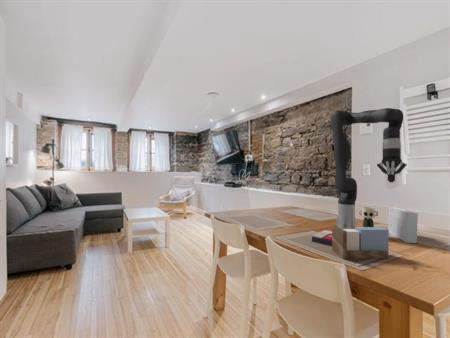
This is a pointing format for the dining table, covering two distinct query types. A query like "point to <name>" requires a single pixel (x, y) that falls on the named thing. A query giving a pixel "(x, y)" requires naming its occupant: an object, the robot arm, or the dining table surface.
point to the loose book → (373, 239)
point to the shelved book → (352, 240)
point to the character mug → (368, 216)
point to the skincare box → (403, 224)
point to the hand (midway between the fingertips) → (391, 182)
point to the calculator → (323, 238)
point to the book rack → (341, 249)
